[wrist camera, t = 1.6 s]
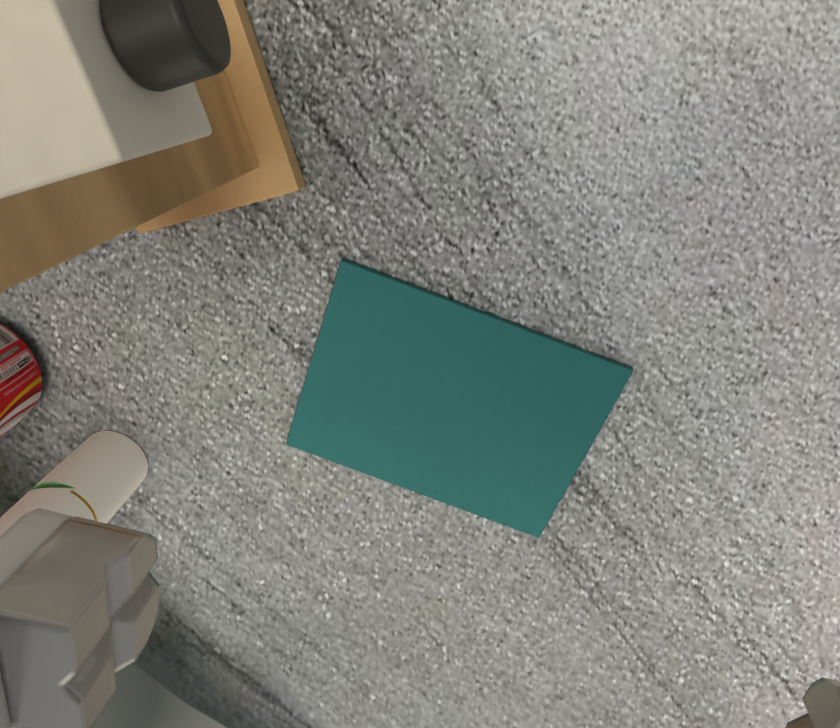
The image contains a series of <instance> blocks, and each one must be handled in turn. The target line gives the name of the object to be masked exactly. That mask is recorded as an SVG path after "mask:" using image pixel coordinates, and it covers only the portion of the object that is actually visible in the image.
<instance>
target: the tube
mask: <svg viewBox="0 0 840 728" xmlns="http://www.w3.org/2000/svg"><path fill="white" fill-rule="evenodd" d="M147 473H148V462H147V459H146V456H145V454H144V453H143V451H142V450H141V448H140V447H139V446H138V445H137V444H136V443H135V442H134V441H133V440H131V439H130V438H128V437H127V436H125V435H123V434H120V433H117V432H113V431H100V432H96V433H94V434H92V435H91V436H90V437H89V438H87V439H86V440H85V441H84V442H83V443H82V444H81V445H80V446H79V447H78V448H76V449H75V450H74V451H73V452H72V453H71V454H70V455H69V456H68V457H67V458H65V459H64V460H63V461H62V462H61V463H60V464H59V465H58V466H57V467H56V468H54V469H53V470H52V471H51V472H50V473H49V474H48V475H47V476H46V477H45V478H43V479H42V480H41V481H40V482H39V483H38V484H37V485H36V486H35V487H34V488H32V489H31V490H30V491H29V492H28V493H27V494H26V495H25V496H24V497H23V498H21V499H20V500H19V501H18V502H17V503H16V504H15V505H14V506H13V507H12V508H10V509H9V510H8V511H7V512H6V513H5V514H4V515H3V516H2V517H1V518H0V537H1V536H2V535H3V534H4V533H5V532H6V531H7V530H8V529H9V528H10V527H11V526H12V525H13V524H14V523H15V522H17V521H18V520H19V519H20V518H21V517H22V516H23V515H24V514H26V513H28V512H30V511H33V510H35V509H38V508H41V509H45V510H49V511H53V512H57V513H61V514H65V515H69V516H74V517H76V516H77V517H81V518H85V519H89V520H94V521H98V522H102V523H106V524H107V522H108V521H109V520H110V519H111V518H112V517H113V516H114V514H115V513H116V512H117V511H118V510H119V509H120V507H121V506H122V505H123V504H124V503H125V502H126V501H127V499H128V498H129V497H130V496H131V495H132V494H133V492H134V491H135V490H136V489H137V488H138V487H139V486H140V484H141V483H142V482H143V481H144V479H145V478H146V476H147Z"/></svg>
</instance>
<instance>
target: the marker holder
mask: <svg viewBox="0 0 840 728" xmlns="http://www.w3.org/2000/svg"><path fill="white" fill-rule="evenodd" d="M217 1H218V3H219V5H220V8H221V10H222V13H223V16H224V19H225V22H226V25H227V29H228V33H229V38H230V45H231V58H230V62H229V65H228V66H227V67H226V68H225V69H224V70H223V71H222V72H221V73H219V74H216V75H213V76H210V77H207V78H204V79H201V80H198V81H195V82H194V84H195V86H196V89H197V92H198V94H199V97H200V100H201V102H202V105H203V107H204V110H205V113H206V115H207V118H208V121H209V123H210V126H211V129H212V133H211V134H210V135H209V136H206V137H203V138H200V139H196V140H193V141H190V142H186V143H183V144H180V145H177V146H173V147H170V148H167V149H164V150H160V151H157V152H154V153H150V154H147V155H144V156H141V157H137V158H134V159H131V160H127V161H124V162H121V163H118V164H114V165H111V166H108V167H104V168H101V169H98V170H94V171H91V172H88V173H85V174H81V175H78V176H75V177H71V178H68V179H65V180H61V181H58V182H55V183H51V184H48V185H45V186H42V187H38V188H35V189H32V190H28V191H25V192H22V193H18V194H15V195H12V196H8V197H5V198H2V199H0V293H1V292H3V291H5V290H7V289H9V288H11V287H13V286H15V285H17V284H19V283H21V282H23V281H25V280H27V279H30V278H32V277H34V276H36V275H38V274H40V273H42V272H44V271H46V270H48V269H50V268H52V267H54V266H56V265H58V264H61V263H63V262H65V261H67V260H69V259H71V258H73V257H75V256H77V255H79V254H81V253H83V252H85V251H87V250H90V249H92V248H94V247H96V246H98V245H100V244H102V243H104V242H106V241H108V240H110V239H112V238H114V237H116V236H119V235H121V234H123V233H125V232H127V231H129V230H131V229H133V228H135V227H136V230H137V232H138V233H139V234H141V233H145V232H148V231H152V230H156V229H159V228H163V227H167V226H171V225H174V224H178V223H182V222H185V221H189V220H193V219H196V218H200V217H204V216H207V215H211V214H215V213H219V212H222V211H226V210H230V209H233V208H237V207H241V206H244V205H248V204H252V203H255V202H259V201H263V200H267V199H270V198H274V197H278V196H281V195H285V194H289V193H292V192H296V191H299V190H300V189H302V188H303V187H305V186H306V184H305V181H304V178H303V175H302V172H301V169H300V166H299V163H298V161H297V158H296V155H295V152H294V149H293V146H292V143H291V140H290V137H289V134H288V131H287V128H286V125H285V122H284V119H283V116H282V113H281V110H280V107H279V104H278V101H277V98H276V95H275V92H274V89H273V86H272V83H271V80H270V78H269V75H268V72H267V69H266V66H265V63H264V60H263V57H262V54H261V51H260V48H259V45H258V42H257V39H256V36H255V33H254V30H253V27H252V24H251V21H250V18H249V15H248V12H247V9H246V6H245V3H244V0H217Z"/></svg>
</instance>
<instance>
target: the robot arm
mask: <svg viewBox="0 0 840 728" xmlns="http://www.w3.org/2000/svg"><path fill="white" fill-rule="evenodd" d="M157 559H158V551H157V541H156V538H155V537H153V536H152V535H150V534H147V533H143V532H139V531H135V530H131V529H127V528H123V527H118V526H114V525H110V524H106V523H102V522H98V521H94V520H89V519H85V518H81V517H77V516H76V517H74V516H69V515H65V514H61V513H57V512H53V511H49V510H45V509H41V508H38V509H35V510H33V511H30V512H28V513H26V514H24V515H23V516H22V517H21V518H20V519H19V520H18V521H17V522H15V523H14V524H13V525H12V526H11V527H10V528H9V529H8V530H7V531H6V532H5V533H4V534H3V535H2V536H1V537H0V728H12V727H13V728H93V727H94V726H95V724H96V722H97V721H98V719H99V718H100V716H101V715H102V713H103V711H104V710H105V708H106V707H107V705H108V704H109V702H110V701H111V699H112V697H113V696H114V694H115V693H116V685H115V672H117V671H118V670H120V669H122V668H124V667H125V666H127V665H129V664H130V663H132V662H134V661H136V659H137V658H138V656H139V654H140V653H141V651H142V649H143V648H144V646H145V644H146V643H147V641H148V639H149V636H150V634H151V631H152V629H153V626H154V623H155V621H156V618H157V613H158V607H159V601H160V588H159V584H158V582H157V581H156V580H155V578H154V577H153V576H152V574H151V573H150V572H149V571H150V569H151V568H152V566H153V565H154V564H155V562H156V561H157ZM803 701H804V703H805V706H806V708H807V711H808V713H807V714H805V715H803V716H801V717H799V718H797V719H794V720H792V721H790V722H788V723H787V725H786V727H785V728H840V681H837V680H832V679H827V678H821V679H819V680H817V681H815V682H813V683H811V685H810V687H809V688H808V690H807V691H806V693H805V695H804V696H803Z"/></svg>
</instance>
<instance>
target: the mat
mask: <svg viewBox="0 0 840 728" xmlns="http://www.w3.org/2000/svg"><path fill="white" fill-rule="evenodd" d="M632 372H633V369H632V368H631V367H628V366H626V365H623V364H620V363H618V362H615V361H613V360H610V359H607V358H605V357H602V356H599V355H597V354H594V353H591V352H589V351H586V350H583V349H581V348H578V347H576V346H573V345H570V344H568V343H565V342H562V341H560V340H557V339H554V338H552V337H549V336H546V335H544V334H541V333H538V332H536V331H533V330H531V329H528V328H525V327H523V326H520V325H517V324H515V323H512V322H509V321H507V320H504V319H501V318H499V317H496V316H494V315H491V314H488V313H486V312H483V311H480V310H478V309H475V308H472V307H470V306H467V305H464V304H462V303H459V302H456V301H454V300H451V299H449V298H446V297H443V296H441V295H438V294H435V293H433V292H430V291H427V290H425V289H422V288H419V287H417V286H414V285H412V284H409V283H406V282H404V281H401V280H398V279H396V278H393V277H390V276H388V275H385V274H382V273H380V272H377V271H374V270H372V269H369V268H367V267H364V266H361V265H359V264H356V263H353V262H351V261H348V260H345V259H342V260H341V262H340V266H339V269H338V272H337V276H336V279H335V282H334V286H333V289H332V292H331V296H330V299H329V302H328V306H327V309H326V312H325V316H324V319H323V322H322V326H321V329H320V332H319V336H318V339H317V342H316V346H315V349H314V352H313V355H312V359H311V362H310V365H309V369H308V372H307V375H306V379H305V382H304V385H303V389H302V392H301V395H300V399H299V402H298V405H297V409H296V412H295V415H294V419H293V422H292V425H291V429H290V432H289V435H288V439H287V442H286V444H287V445H290V446H292V447H295V448H298V449H300V450H303V451H306V452H308V453H311V454H314V455H317V456H319V457H322V458H325V459H327V460H330V461H333V462H335V463H338V464H341V465H344V466H346V467H349V468H352V469H354V470H357V471H360V472H363V473H365V474H368V475H371V476H373V477H376V478H379V479H381V480H384V481H387V482H390V483H392V484H395V485H398V486H400V487H403V488H406V489H408V490H411V491H414V492H417V493H419V494H422V495H425V496H427V497H430V498H433V499H435V500H438V501H441V502H444V503H446V504H449V505H452V506H454V507H457V508H460V509H462V510H465V511H468V512H471V513H473V514H476V515H479V516H481V517H484V518H487V519H490V520H492V521H495V522H498V523H500V524H503V525H506V526H508V527H511V528H514V529H517V530H519V531H522V532H525V533H527V534H530V535H533V536H535V537H538V538H539V537H540V535H541V534H542V532H543V530H544V528H545V526H546V525H547V523H548V521H549V519H550V518H551V516H552V514H553V512H554V510H555V509H556V507H557V505H558V503H559V502H560V500H561V498H562V496H563V495H564V493H565V491H566V489H567V487H568V486H569V484H570V482H571V480H572V479H573V477H574V475H575V473H576V471H577V470H578V468H579V466H580V464H581V463H582V461H583V459H584V457H585V455H586V454H587V452H588V450H589V448H590V447H591V445H592V443H593V441H594V439H595V438H596V436H597V434H598V432H599V431H600V429H601V427H602V425H603V423H604V422H605V420H606V418H607V416H608V415H609V413H610V411H611V409H612V408H613V406H614V404H615V402H616V400H617V399H618V397H619V395H620V393H621V392H622V390H623V388H624V386H625V384H626V383H627V381H628V379H629V377H630V376H631V374H632Z"/></svg>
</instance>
